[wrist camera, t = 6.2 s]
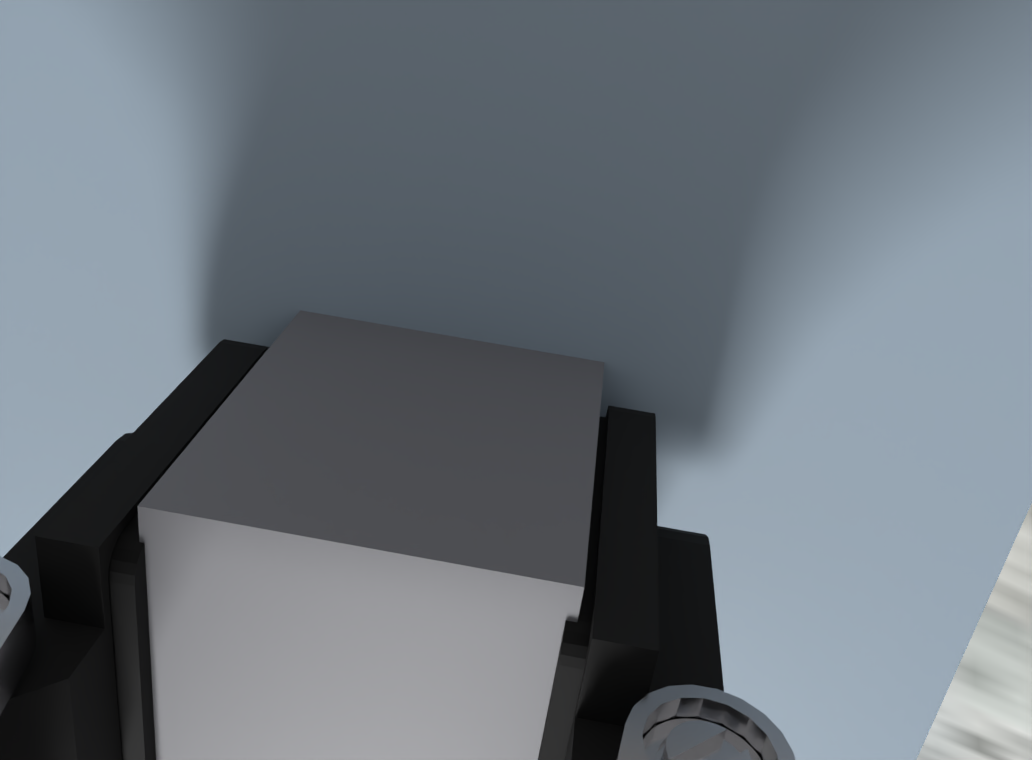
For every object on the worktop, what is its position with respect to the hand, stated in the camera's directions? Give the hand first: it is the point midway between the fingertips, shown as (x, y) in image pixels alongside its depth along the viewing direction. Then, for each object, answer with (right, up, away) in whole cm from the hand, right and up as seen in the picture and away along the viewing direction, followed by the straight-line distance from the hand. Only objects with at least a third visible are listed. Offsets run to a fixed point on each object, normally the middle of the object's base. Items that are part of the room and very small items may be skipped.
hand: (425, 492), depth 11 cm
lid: (0, +1, +1) cm, 2 cm away
